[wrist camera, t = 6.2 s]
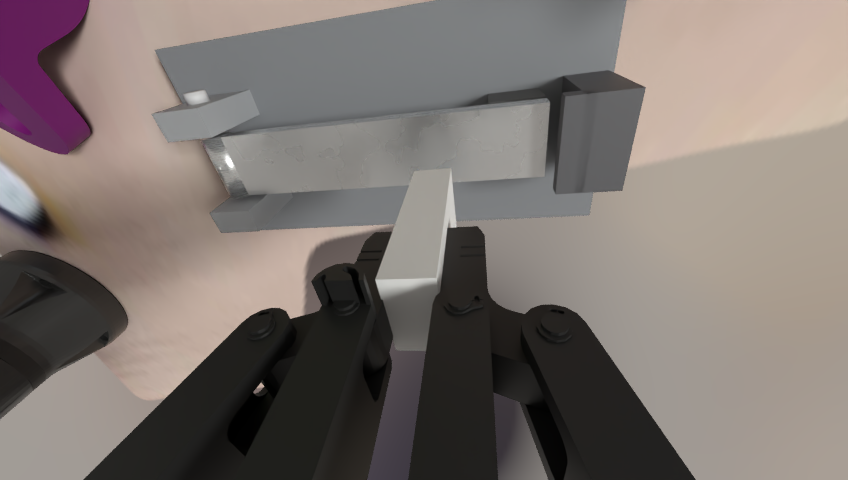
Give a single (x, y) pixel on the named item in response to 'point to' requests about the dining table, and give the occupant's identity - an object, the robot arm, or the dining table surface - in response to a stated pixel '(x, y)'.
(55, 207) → the dining table surface
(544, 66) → the latch base
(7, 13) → the mounting bracket
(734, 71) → the dining table surface
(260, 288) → the dining table surface
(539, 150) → the grey long flat bar
